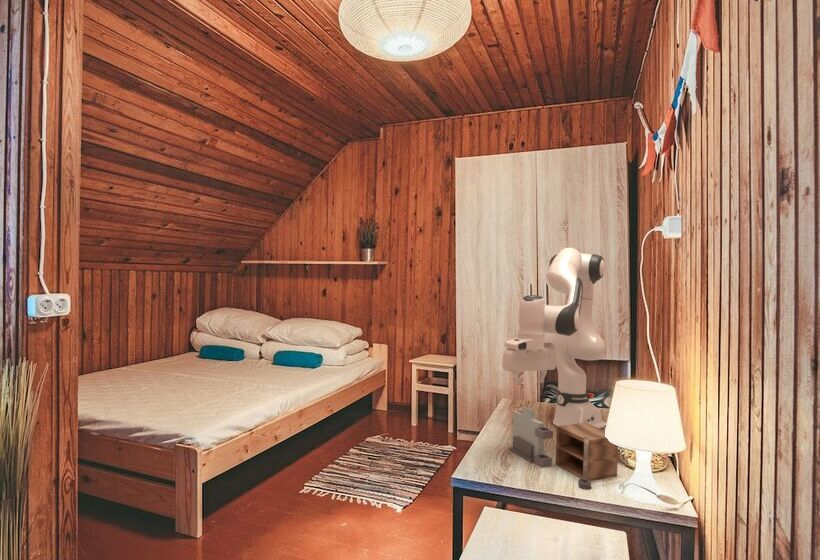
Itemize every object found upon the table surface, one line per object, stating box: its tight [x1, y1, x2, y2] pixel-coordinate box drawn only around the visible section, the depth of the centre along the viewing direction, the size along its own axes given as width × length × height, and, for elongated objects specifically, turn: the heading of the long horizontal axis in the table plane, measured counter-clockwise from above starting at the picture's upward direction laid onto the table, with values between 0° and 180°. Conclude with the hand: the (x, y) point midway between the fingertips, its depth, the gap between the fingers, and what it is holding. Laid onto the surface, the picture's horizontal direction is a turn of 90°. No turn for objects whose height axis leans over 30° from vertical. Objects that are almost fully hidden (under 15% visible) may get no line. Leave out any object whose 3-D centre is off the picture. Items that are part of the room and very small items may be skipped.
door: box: [511, 406, 554, 468], centre depth 165 cm, size 4×18×16 cm, turn 24°
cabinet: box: [555, 423, 619, 490], centre depth 153 cm, size 16×17×15 cm
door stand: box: [508, 436, 534, 464], centre depth 167 cm, size 6×12×6 cm, turn 24°
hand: (529, 383), depth 167 cm, fingers open, 8 cm apart
